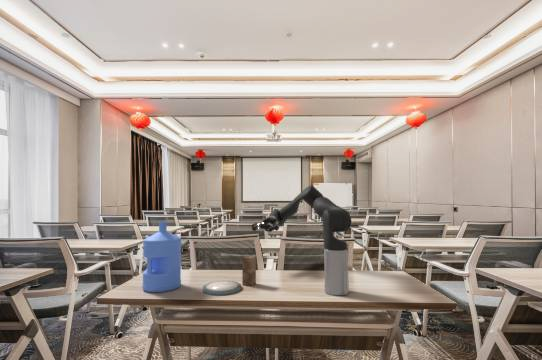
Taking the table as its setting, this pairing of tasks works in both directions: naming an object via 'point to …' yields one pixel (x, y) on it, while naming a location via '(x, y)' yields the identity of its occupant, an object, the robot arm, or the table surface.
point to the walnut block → (249, 270)
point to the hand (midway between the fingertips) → (261, 229)
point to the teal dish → (221, 288)
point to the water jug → (162, 261)
